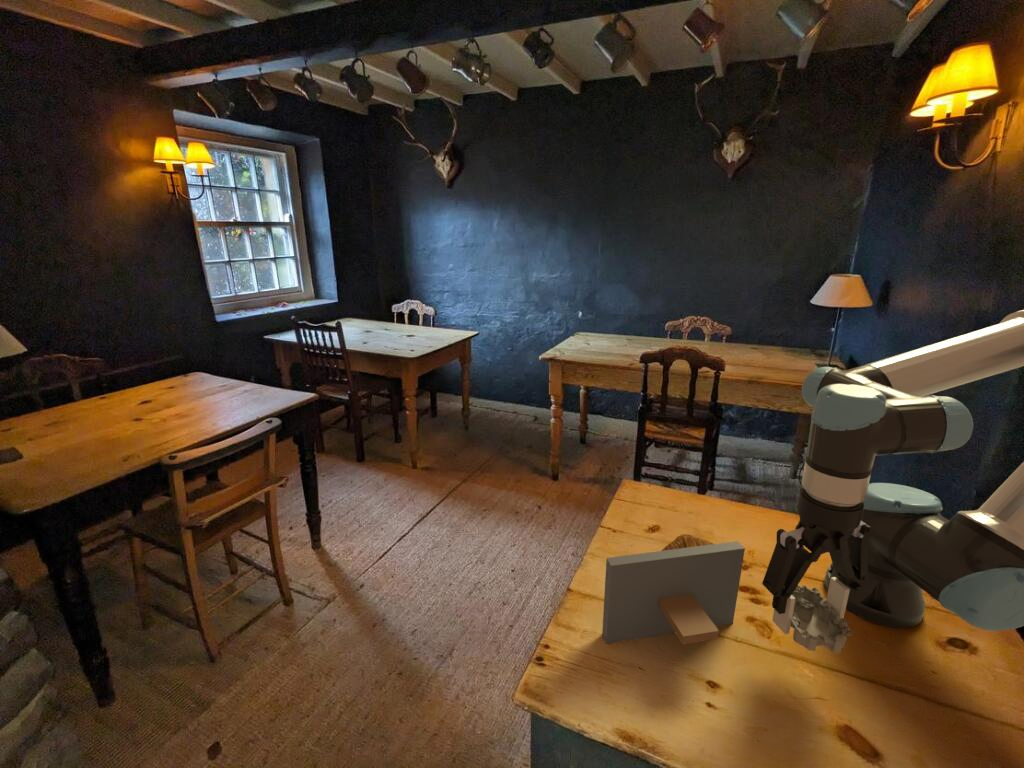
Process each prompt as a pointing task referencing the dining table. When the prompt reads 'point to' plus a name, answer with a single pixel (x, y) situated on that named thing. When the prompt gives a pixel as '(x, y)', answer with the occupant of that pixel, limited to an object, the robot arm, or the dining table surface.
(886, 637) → the dining table surface
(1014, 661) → the dining table surface
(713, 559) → the wall board
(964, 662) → the dining table surface
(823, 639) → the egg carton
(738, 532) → the dining table surface
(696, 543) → the croissant
